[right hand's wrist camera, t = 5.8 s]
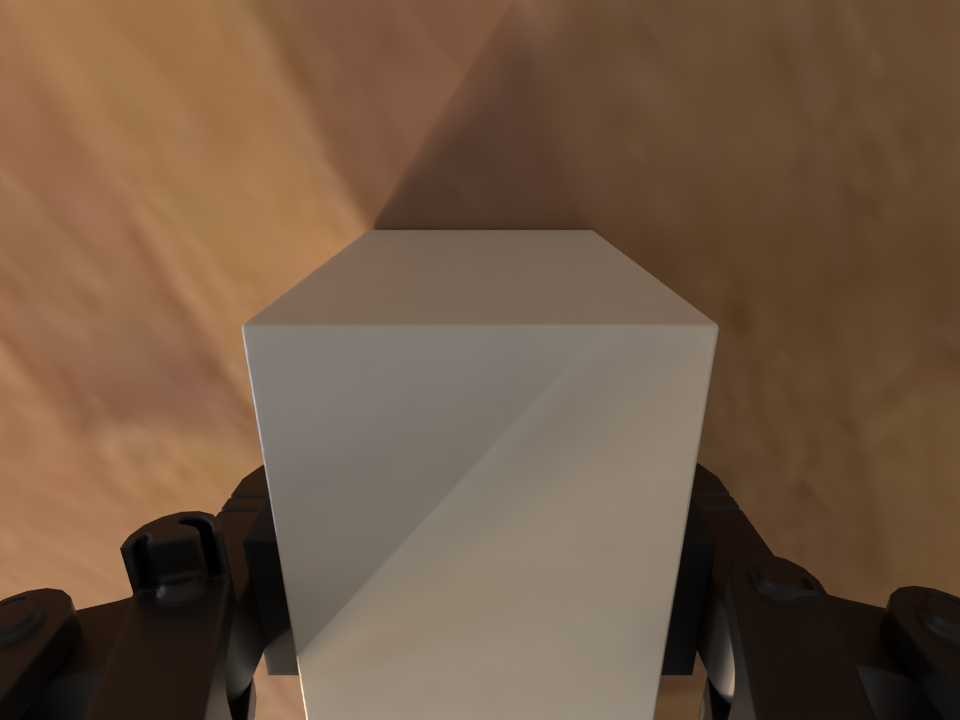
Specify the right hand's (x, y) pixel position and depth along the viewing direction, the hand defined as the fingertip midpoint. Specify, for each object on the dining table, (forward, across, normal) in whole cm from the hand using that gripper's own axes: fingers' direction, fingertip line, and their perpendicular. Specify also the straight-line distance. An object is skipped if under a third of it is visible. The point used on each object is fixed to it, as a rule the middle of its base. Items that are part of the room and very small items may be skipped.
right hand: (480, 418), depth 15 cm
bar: (+1, 0, -32) cm, 32 cm away
